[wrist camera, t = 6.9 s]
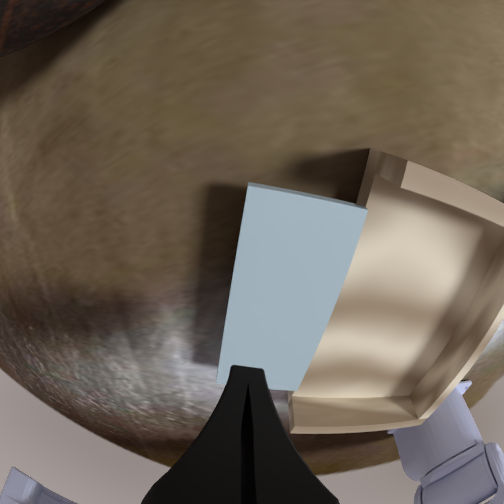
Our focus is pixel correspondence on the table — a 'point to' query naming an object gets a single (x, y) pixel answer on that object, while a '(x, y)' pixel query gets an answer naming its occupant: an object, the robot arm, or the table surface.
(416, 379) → the tray
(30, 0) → the jug
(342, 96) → the table surface
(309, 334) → the panel
